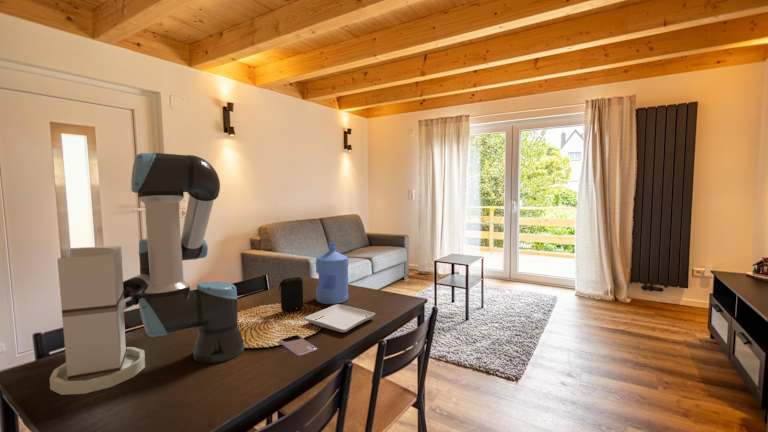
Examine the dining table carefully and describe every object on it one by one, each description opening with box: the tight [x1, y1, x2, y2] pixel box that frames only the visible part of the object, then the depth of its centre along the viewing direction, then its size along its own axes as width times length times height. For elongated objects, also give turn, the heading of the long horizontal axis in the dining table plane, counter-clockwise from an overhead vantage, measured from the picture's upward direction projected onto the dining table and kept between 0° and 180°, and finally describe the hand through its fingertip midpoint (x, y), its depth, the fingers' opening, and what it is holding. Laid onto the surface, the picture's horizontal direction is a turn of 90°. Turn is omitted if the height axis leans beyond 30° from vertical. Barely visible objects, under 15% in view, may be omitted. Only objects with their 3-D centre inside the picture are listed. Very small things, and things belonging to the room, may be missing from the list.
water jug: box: [315, 242, 349, 305], centre depth 170 cm, size 16×16×28 cm
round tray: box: [49, 346, 146, 396], centre depth 102 cm, size 21×21×3 cm
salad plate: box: [304, 303, 376, 333], centre depth 143 cm, size 21×21×3 cm
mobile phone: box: [278, 334, 318, 357], centre depth 121 cm, size 8×1×15 cm
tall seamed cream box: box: [57, 245, 127, 381], centre depth 99 cm, size 11×11×35 cm
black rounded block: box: [278, 276, 304, 312], centre depth 155 cm, size 11×3×15 cm, turn 117°
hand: (90, 309), depth 98 cm, fingers open, 13 cm apart
